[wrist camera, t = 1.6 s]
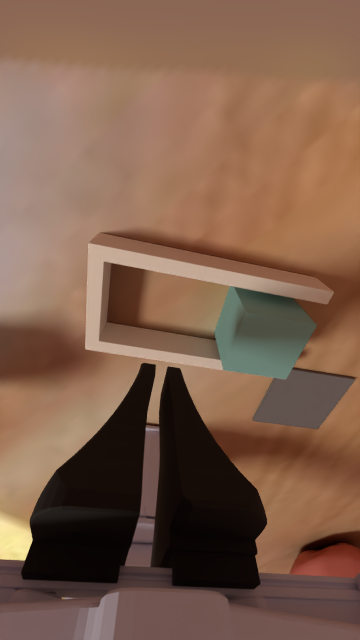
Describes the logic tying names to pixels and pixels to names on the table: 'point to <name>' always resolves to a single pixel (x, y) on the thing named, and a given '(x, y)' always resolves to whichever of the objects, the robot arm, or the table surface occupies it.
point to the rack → (180, 264)
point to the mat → (302, 398)
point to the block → (261, 333)
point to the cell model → (329, 561)
